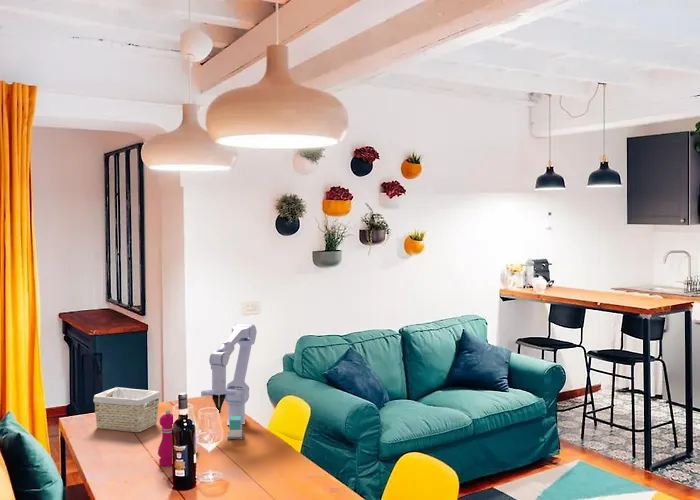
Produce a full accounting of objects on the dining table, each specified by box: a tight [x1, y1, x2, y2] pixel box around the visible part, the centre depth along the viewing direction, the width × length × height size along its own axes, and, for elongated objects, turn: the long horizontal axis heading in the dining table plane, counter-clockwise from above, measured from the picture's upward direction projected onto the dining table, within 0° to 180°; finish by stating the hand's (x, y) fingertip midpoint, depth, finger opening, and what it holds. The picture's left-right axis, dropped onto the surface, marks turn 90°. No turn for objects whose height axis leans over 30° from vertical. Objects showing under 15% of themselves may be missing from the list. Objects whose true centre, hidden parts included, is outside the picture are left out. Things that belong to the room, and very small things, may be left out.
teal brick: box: [228, 416, 241, 431], centre depth 273 cm, size 6×4×4 cm
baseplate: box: [227, 430, 244, 439], centre depth 273 cm, size 7×6×1 cm
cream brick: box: [228, 425, 243, 437], centre depth 273 cm, size 6×5×3 cm
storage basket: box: [92, 386, 161, 433], centre depth 286 cm, size 24×16×15 cm
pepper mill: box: [157, 409, 174, 467], centre depth 243 cm, size 7×7×20 cm
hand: (218, 412), depth 276 cm, fingers closed
